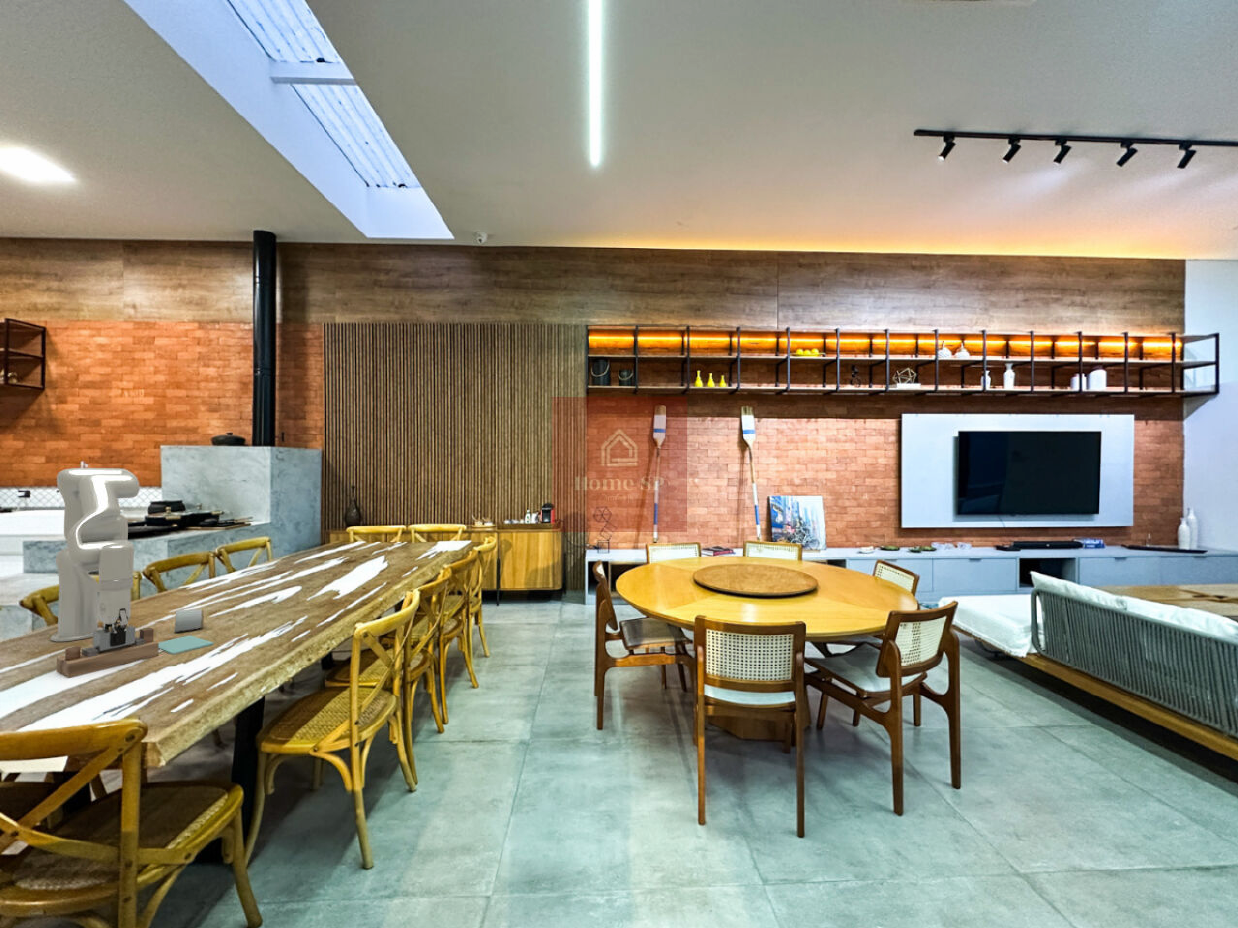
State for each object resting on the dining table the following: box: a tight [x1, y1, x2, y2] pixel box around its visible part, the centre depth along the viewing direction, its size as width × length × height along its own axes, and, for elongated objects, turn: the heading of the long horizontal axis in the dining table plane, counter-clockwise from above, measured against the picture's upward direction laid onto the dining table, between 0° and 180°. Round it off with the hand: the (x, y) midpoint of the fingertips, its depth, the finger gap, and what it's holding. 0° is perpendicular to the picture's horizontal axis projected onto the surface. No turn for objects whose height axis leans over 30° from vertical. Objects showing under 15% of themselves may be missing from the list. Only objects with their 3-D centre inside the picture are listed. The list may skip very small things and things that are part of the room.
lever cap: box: [92, 623, 136, 651], centre depth 155 cm, size 5×8×6 cm, turn 153°
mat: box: [158, 635, 214, 656], centre depth 170 cm, size 16×11×1 cm
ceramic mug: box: [174, 608, 205, 633], centre depth 187 cm, size 11×8×8 cm
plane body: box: [56, 627, 159, 679], centre depth 154 cm, size 9×20×8 cm, turn 153°
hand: (114, 642), depth 155 cm, fingers closed on lever cap, 5 cm apart
